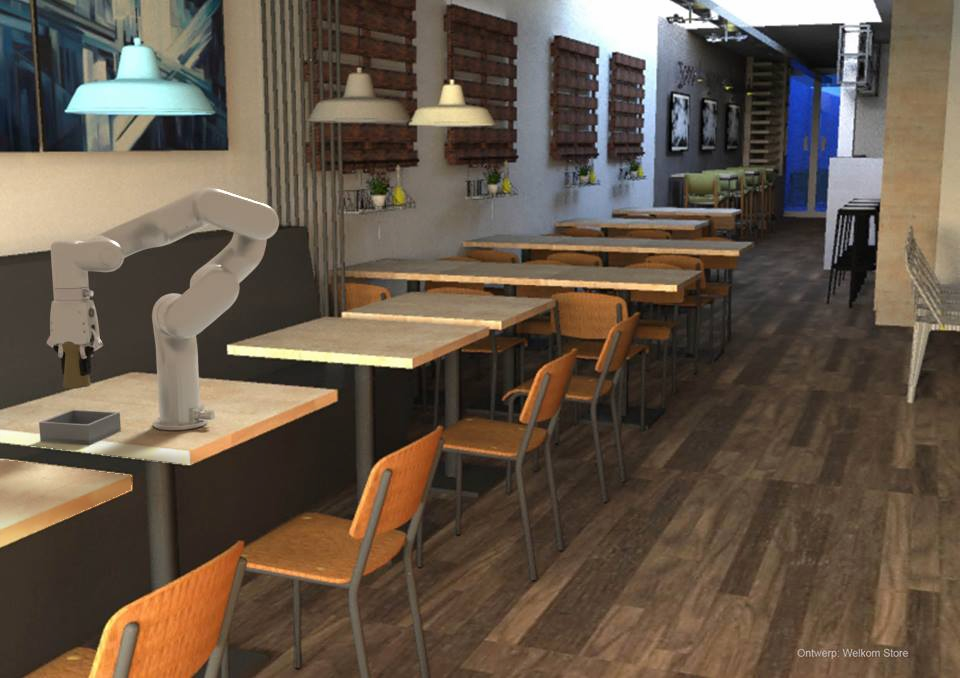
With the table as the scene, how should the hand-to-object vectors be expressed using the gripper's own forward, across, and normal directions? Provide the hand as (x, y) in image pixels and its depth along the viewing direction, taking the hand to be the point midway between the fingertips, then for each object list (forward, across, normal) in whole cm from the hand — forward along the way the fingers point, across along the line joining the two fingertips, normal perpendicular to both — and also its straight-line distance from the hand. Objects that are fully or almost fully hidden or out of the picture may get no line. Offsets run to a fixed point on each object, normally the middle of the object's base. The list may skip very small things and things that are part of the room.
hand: (76, 373), depth 247 cm
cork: (+3, 0, 0) cm, 3 cm away
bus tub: (+15, 0, 0) cm, 15 cm away
